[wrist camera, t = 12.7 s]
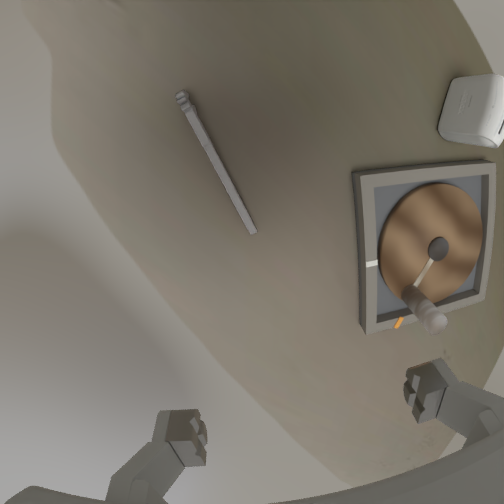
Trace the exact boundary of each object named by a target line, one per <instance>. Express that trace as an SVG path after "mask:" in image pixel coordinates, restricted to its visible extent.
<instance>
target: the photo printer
mask: <svg viewBox="0 0 504 504" xmlns="http://www.w3.org/2000/svg"><path fill="white" fill-rule="evenodd" d="M438 131H439V133H440V135H441V137H442V138H443V139H445V140H447V141H454V142H459V143H467V144H473V145H480V146H486V147H492V148H497V147H498V146H499V145H500V144H501V142H502V141H503V139H504V77H503V76H501V75H497V74H485V75H476V76H468V77H460V78H455V79H453V80H452V82H451V84H450V87H449V90H448V93H447V97H446V100H445V103H444V107H443V110H442V114H441V117H440V121H439V125H438Z"/></svg>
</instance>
